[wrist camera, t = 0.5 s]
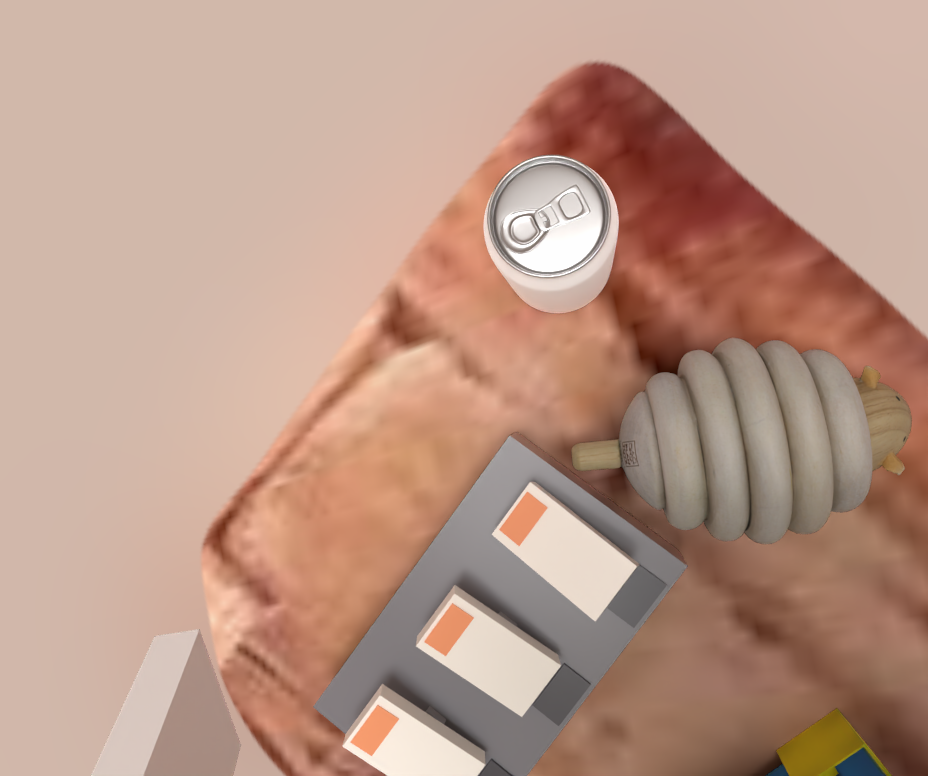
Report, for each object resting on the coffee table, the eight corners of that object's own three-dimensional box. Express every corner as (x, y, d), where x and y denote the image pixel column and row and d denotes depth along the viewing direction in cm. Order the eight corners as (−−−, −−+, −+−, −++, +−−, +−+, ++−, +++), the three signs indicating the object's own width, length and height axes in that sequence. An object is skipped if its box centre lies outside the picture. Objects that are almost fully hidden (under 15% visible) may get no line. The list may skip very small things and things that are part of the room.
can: (488, 240, 46) (454, 188, 34) (582, 191, 45) (580, 119, 33) (534, 332, 45) (515, 312, 33) (630, 284, 44) (646, 245, 32)
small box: (484, 749, 41) (485, 766, 40) (448, 797, 42) (447, 816, 40) (382, 682, 41) (379, 696, 39) (346, 731, 41) (342, 747, 40)
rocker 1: (557, 653, 41) (561, 666, 39) (519, 703, 41) (522, 718, 39) (454, 583, 40) (454, 594, 39) (417, 634, 40) (415, 647, 39)
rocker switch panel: (678, 550, 44) (689, 569, 39) (485, 803, 45) (473, 850, 41) (516, 431, 45) (508, 436, 41) (336, 680, 47) (308, 712, 43)
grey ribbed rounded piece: (888, 494, 42) (995, 530, 31) (596, 548, 44) (598, 600, 34) (844, 314, 42) (934, 288, 31) (557, 380, 45) (547, 376, 34)
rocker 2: (639, 563, 38) (636, 566, 37) (599, 617, 39) (594, 622, 37) (536, 481, 41) (529, 481, 39) (498, 532, 41) (490, 534, 40)
